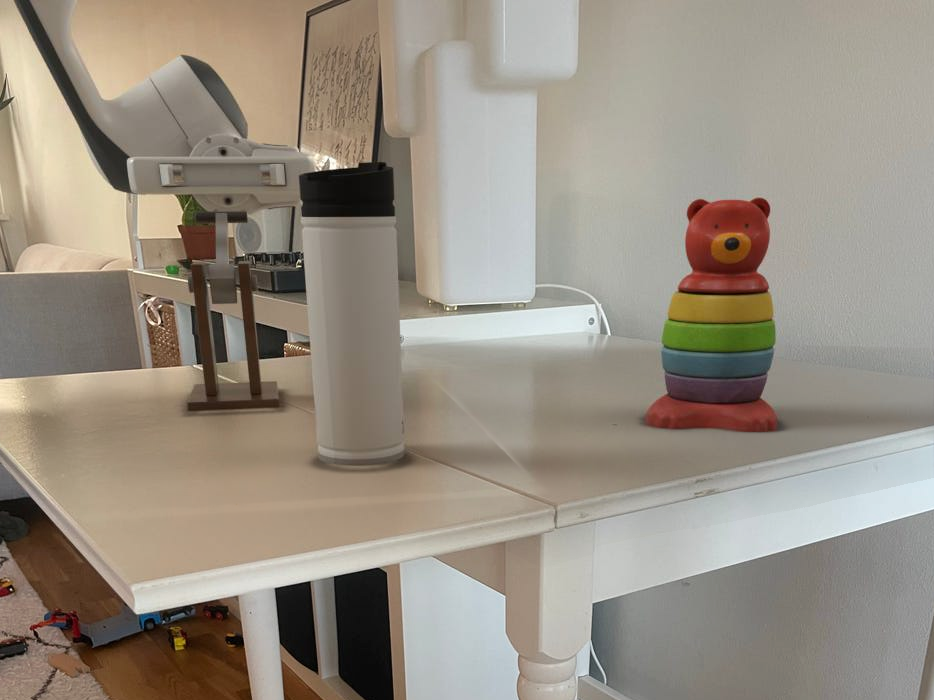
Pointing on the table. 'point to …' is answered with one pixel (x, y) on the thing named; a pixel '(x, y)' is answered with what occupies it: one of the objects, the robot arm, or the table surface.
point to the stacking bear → (720, 324)
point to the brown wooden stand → (212, 391)
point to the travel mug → (353, 313)
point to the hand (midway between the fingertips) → (221, 173)
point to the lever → (222, 255)
